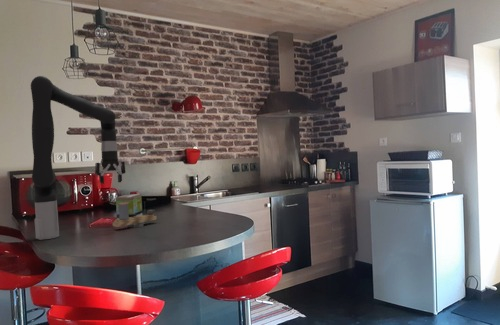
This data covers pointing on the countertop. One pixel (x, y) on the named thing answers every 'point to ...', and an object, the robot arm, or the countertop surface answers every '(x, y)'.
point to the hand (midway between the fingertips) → (111, 183)
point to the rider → (123, 211)
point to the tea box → (130, 204)
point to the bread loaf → (136, 220)
